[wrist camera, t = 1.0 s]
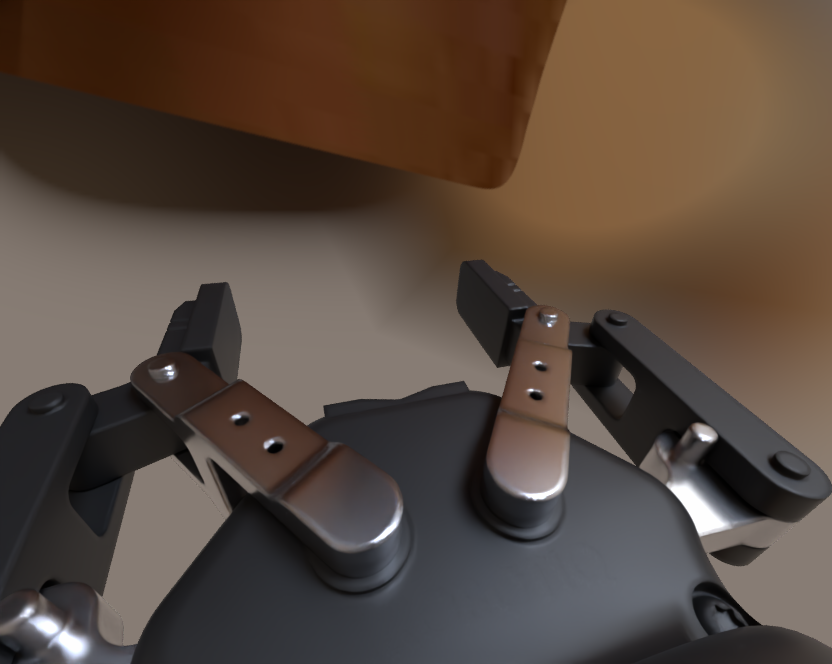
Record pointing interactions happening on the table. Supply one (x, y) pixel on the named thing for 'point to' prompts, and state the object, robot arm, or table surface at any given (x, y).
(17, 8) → the table surface
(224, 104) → the table surface
